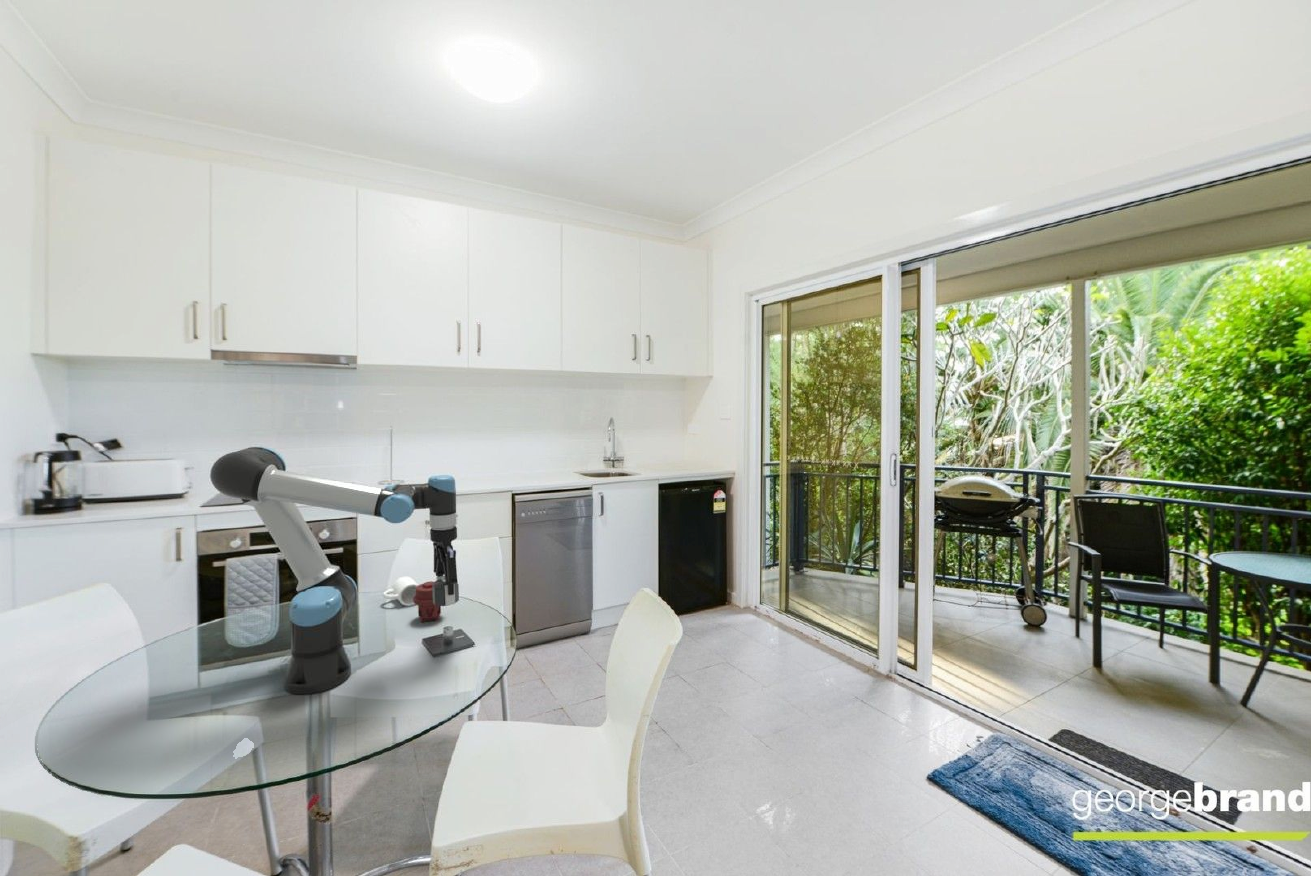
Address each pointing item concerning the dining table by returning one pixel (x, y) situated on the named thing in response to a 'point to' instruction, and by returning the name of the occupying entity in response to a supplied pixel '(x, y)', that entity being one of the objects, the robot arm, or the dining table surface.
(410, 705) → the dining table surface
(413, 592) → the mug
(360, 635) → the dining table surface
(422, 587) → the mechanical component
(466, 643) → the metal plate
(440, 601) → the knob
